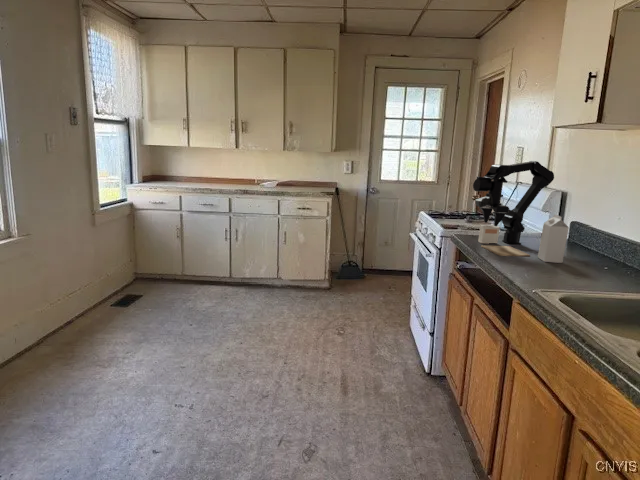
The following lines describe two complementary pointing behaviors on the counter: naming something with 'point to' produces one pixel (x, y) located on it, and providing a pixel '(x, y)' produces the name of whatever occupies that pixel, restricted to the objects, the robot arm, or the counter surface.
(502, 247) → the mat
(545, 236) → the milk carton
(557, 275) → the counter surface
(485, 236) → the cream box
